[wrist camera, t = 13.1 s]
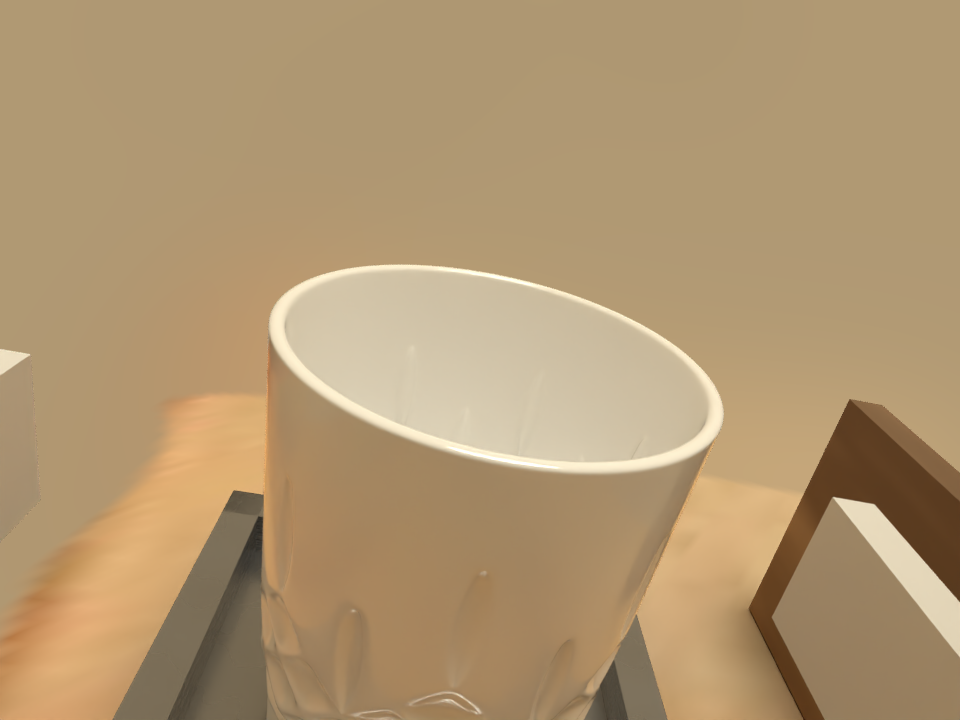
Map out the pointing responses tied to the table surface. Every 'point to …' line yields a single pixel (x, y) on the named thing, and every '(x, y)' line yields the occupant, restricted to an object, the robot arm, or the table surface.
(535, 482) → the white cup
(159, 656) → the frame
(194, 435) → the table surface
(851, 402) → the door edge slab
